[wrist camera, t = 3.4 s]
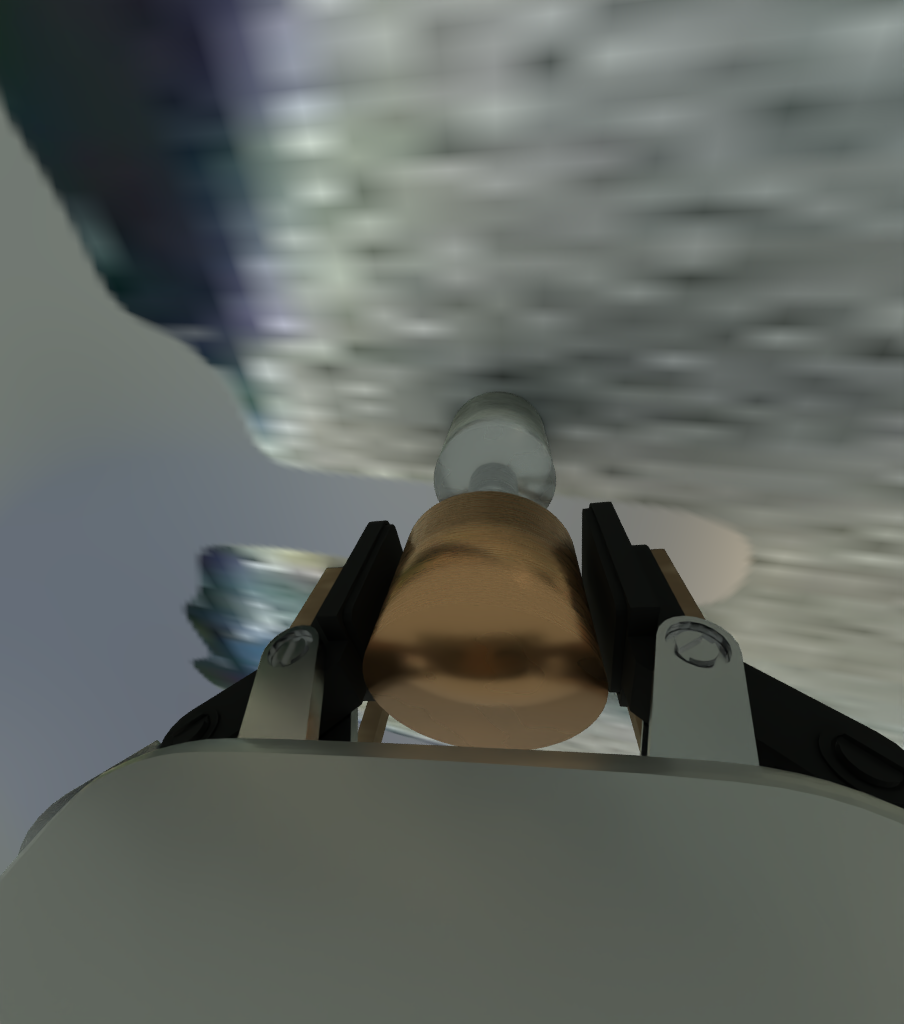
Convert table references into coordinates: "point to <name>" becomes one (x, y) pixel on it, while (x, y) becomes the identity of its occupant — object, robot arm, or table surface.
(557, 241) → the table surface
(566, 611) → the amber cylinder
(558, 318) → the table surface
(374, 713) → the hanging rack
